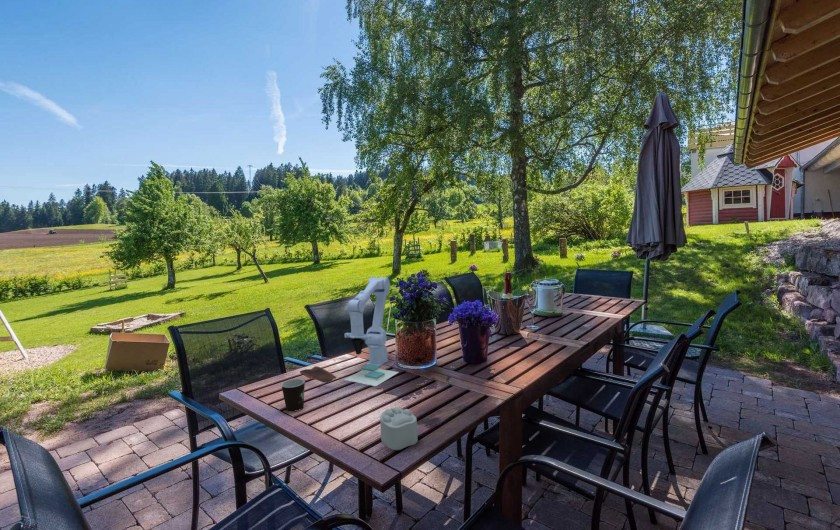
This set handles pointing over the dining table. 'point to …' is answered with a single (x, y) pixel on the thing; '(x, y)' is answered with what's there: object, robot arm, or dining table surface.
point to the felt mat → (360, 378)
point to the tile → (374, 375)
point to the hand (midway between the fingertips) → (358, 353)
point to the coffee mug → (293, 394)
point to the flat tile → (370, 368)
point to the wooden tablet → (318, 374)
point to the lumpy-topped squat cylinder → (398, 428)
